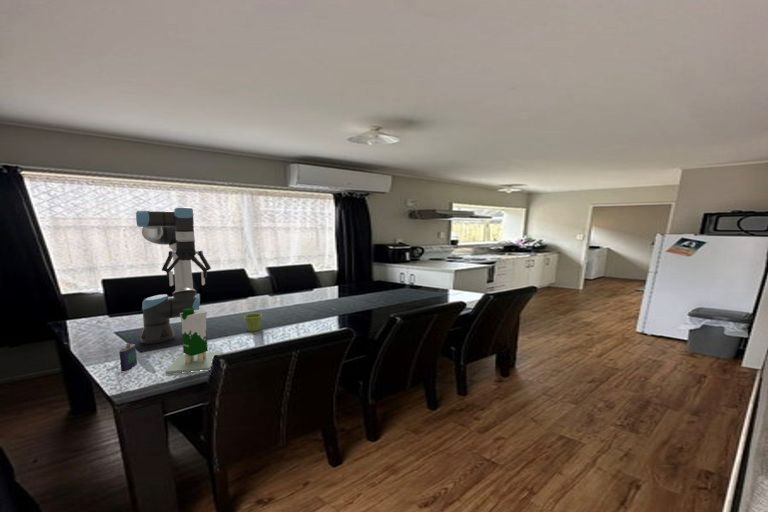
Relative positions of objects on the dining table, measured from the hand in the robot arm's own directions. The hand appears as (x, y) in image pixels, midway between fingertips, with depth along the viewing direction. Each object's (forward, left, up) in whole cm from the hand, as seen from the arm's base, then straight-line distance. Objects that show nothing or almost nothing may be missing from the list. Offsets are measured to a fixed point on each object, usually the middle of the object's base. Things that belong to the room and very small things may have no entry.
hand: (187, 285), depth 162 cm
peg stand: (+6, -16, -33) cm, 37 cm away
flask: (-21, -13, -33) cm, 41 cm away
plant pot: (+25, +28, -33) cm, 50 cm away
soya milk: (+6, -16, -28) cm, 32 cm away
